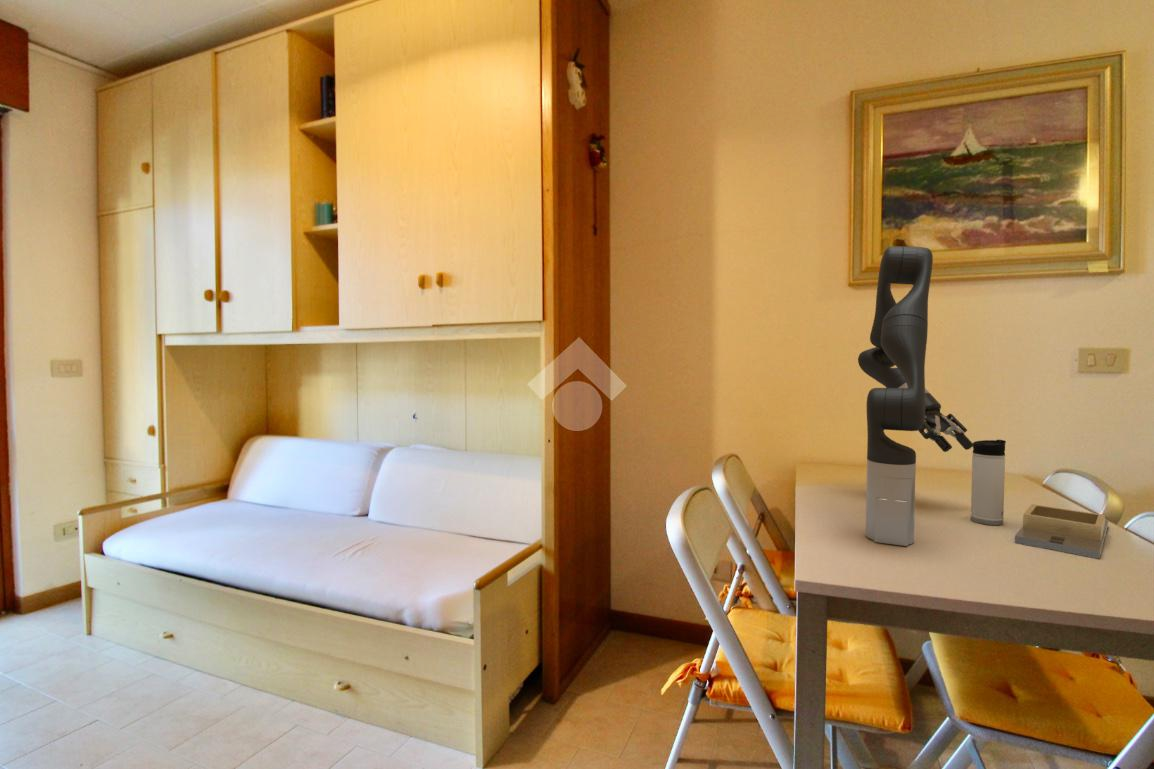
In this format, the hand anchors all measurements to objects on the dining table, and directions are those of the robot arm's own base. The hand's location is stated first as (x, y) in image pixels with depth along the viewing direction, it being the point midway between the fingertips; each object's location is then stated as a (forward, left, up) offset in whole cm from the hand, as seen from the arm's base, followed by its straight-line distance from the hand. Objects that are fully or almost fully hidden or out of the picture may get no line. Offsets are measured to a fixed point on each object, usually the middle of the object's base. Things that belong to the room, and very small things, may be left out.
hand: (959, 448), depth 134 cm
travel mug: (-4, -5, -17) cm, 18 cm away
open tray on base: (-8, -18, -17) cm, 26 cm away
